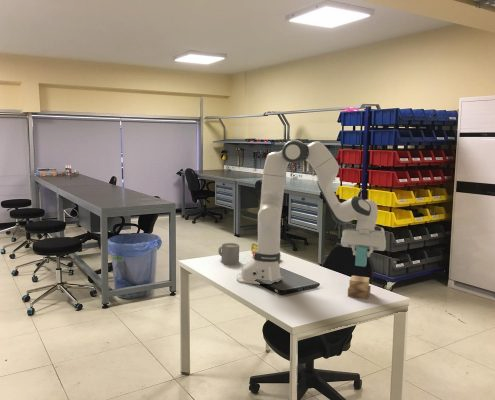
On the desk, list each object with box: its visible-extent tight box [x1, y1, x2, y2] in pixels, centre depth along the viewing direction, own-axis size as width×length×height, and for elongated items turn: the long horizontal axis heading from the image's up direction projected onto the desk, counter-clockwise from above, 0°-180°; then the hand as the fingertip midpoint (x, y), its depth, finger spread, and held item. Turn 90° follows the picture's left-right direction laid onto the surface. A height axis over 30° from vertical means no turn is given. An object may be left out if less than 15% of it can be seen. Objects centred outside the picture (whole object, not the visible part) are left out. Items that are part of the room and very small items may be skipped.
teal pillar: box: [354, 246, 368, 268], centre depth 209 cm, size 4×4×8 cm
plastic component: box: [250, 242, 258, 255], centre depth 271 cm, size 20×7×10 cm
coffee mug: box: [217, 242, 240, 265], centre depth 260 cm, size 13×10×10 cm
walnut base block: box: [347, 285, 372, 300], centre depth 211 cm, size 9×9×4 cm
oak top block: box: [348, 275, 370, 291], centre depth 211 cm, size 8×8×4 cm
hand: (361, 255), depth 208 cm, fingers closed on teal pillar, 4 cm apart
